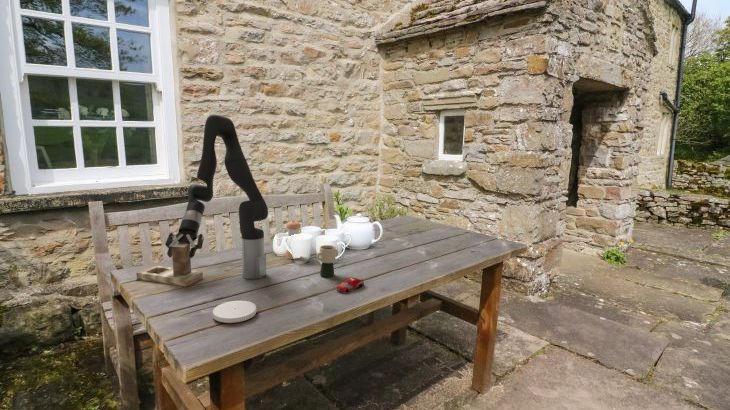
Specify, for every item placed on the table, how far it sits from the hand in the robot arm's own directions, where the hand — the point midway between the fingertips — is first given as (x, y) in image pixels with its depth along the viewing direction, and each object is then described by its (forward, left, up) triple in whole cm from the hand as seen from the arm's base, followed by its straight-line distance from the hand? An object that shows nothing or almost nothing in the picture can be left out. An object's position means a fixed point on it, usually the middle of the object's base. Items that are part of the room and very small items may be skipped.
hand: (180, 256), depth 159 cm
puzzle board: (+6, -1, -11) cm, 12 cm away
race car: (-68, -16, -11) cm, 70 cm away
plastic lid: (-38, +20, -11) cm, 44 cm away
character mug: (-54, -27, -11) cm, 61 cm away
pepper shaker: (-29, -46, -11) cm, 55 cm away
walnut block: (0, -1, -7) cm, 8 cm away
